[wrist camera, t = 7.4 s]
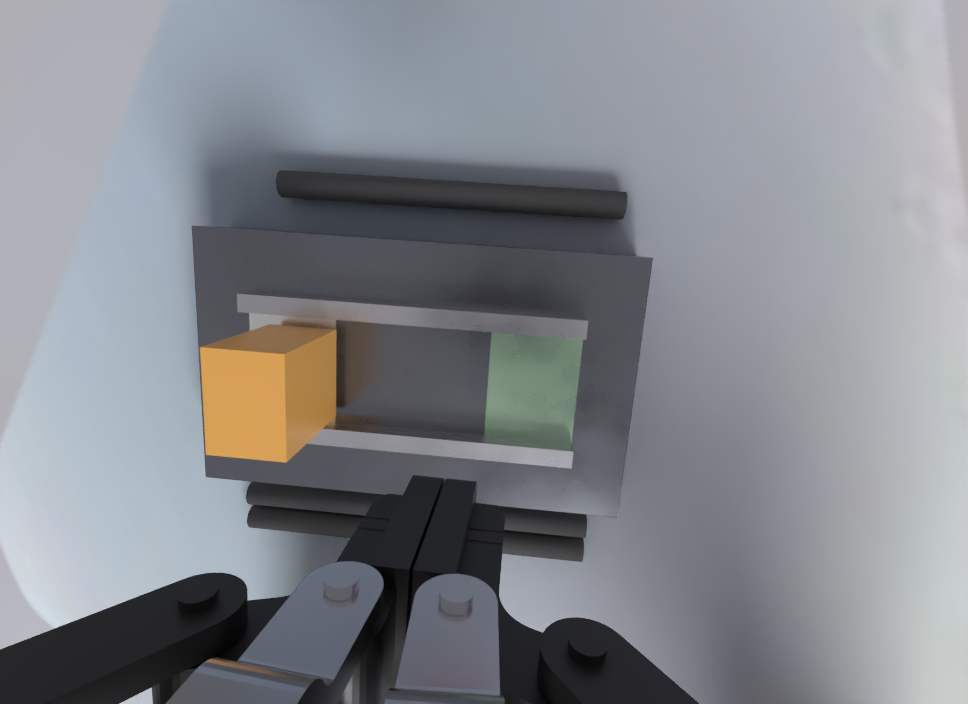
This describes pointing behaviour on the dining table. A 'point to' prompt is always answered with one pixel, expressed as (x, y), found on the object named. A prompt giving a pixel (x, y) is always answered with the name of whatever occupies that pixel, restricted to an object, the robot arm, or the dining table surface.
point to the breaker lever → (268, 391)
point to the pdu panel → (443, 360)
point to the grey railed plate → (347, 508)
